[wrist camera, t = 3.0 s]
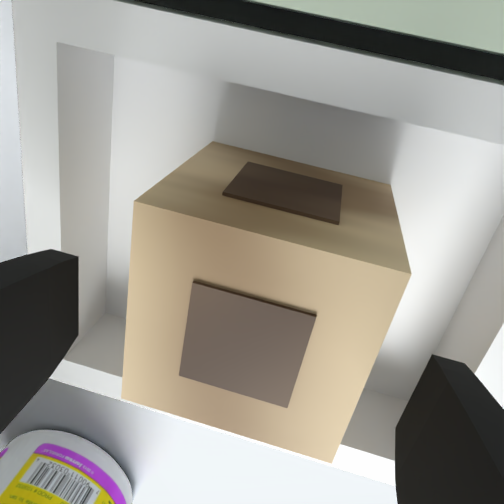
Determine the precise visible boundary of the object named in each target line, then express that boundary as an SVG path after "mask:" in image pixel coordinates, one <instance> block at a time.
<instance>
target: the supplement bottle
mask: <svg viewBox="0 0 504 504" xmlns="http://www.w3.org/2000/svg"><path fill="white" fill-rule="evenodd" d="M132 502H133V495H132V489H131V485H130V482H129V480H128V478H127V476H126V475H125V473H124V472H123V470H122V469H121V467H120V466H119V465H118V464H117V463H116V461H115V460H114V459H113V458H112V457H111V456H110V455H109V454H108V453H106V452H105V451H104V450H103V449H101V448H100V447H98V446H97V445H95V444H94V443H92V442H90V441H88V440H86V439H84V438H82V437H79V436H77V435H74V434H71V433H67V432H63V431H57V430H36V431H30V432H27V433H24V434H22V435H19V436H18V437H16V438H15V439H13V440H12V441H11V442H10V443H9V444H8V445H7V446H6V447H5V448H4V449H3V451H2V452H1V453H0V504H132Z"/></svg>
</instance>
